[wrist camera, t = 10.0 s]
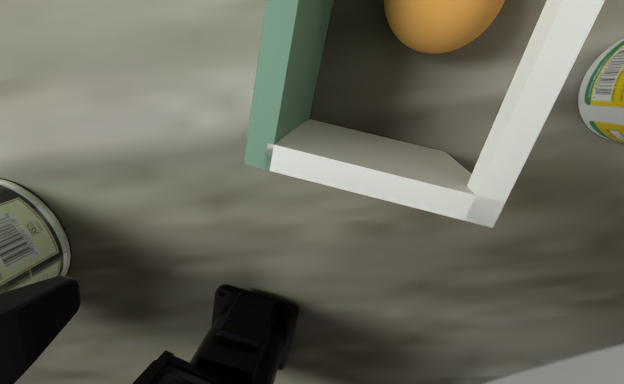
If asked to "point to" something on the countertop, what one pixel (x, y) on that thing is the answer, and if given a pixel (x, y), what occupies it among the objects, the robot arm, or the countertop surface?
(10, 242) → the coffee can
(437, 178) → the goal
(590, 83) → the supplement bottle
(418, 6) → the ball
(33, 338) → the robot arm
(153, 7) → the countertop surface
